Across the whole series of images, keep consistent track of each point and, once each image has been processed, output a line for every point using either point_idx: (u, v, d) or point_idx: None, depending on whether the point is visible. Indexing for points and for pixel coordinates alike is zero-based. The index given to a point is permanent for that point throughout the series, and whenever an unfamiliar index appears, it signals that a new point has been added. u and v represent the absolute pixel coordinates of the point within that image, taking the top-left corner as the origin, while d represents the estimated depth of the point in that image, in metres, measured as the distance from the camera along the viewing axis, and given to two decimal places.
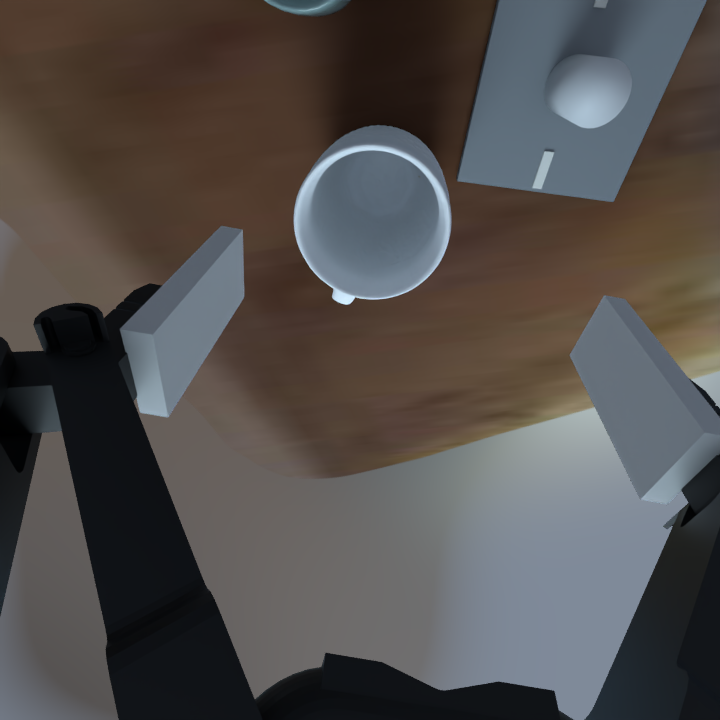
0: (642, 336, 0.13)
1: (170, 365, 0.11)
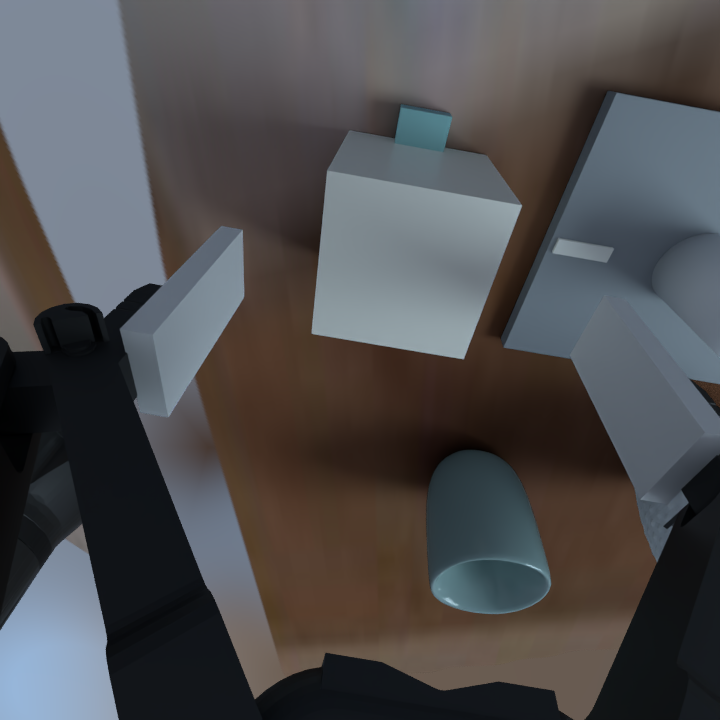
0: (642, 336, 0.13)
1: (170, 365, 0.11)
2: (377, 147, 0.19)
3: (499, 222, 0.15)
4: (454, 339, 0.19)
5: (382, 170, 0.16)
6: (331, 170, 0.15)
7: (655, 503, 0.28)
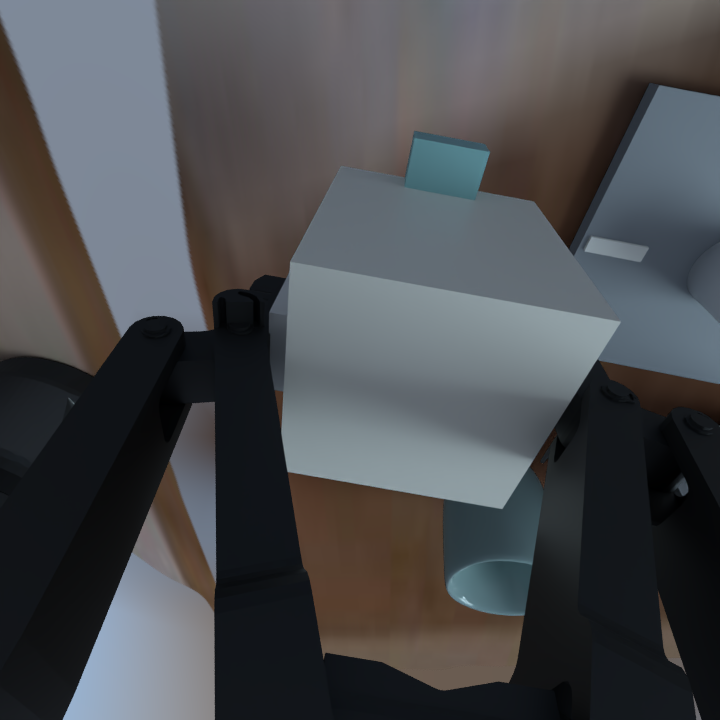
0: None
1: None
2: (379, 198, 0.13)
3: (578, 344, 0.09)
4: (490, 486, 0.13)
5: (384, 251, 0.10)
6: (298, 260, 0.09)
7: None
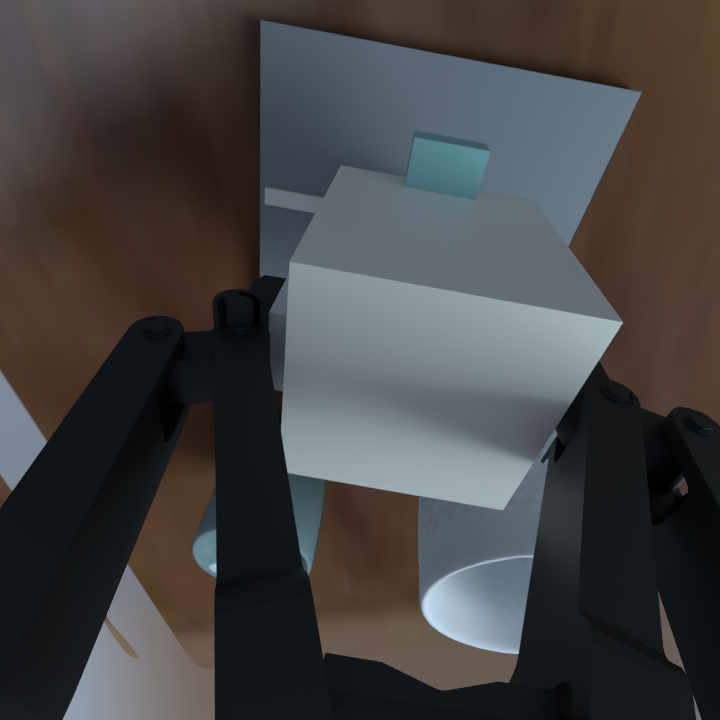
0: None
1: None
2: (379, 197, 0.13)
3: (580, 345, 0.09)
4: (491, 487, 0.12)
5: (385, 251, 0.10)
6: (297, 260, 0.09)
7: None
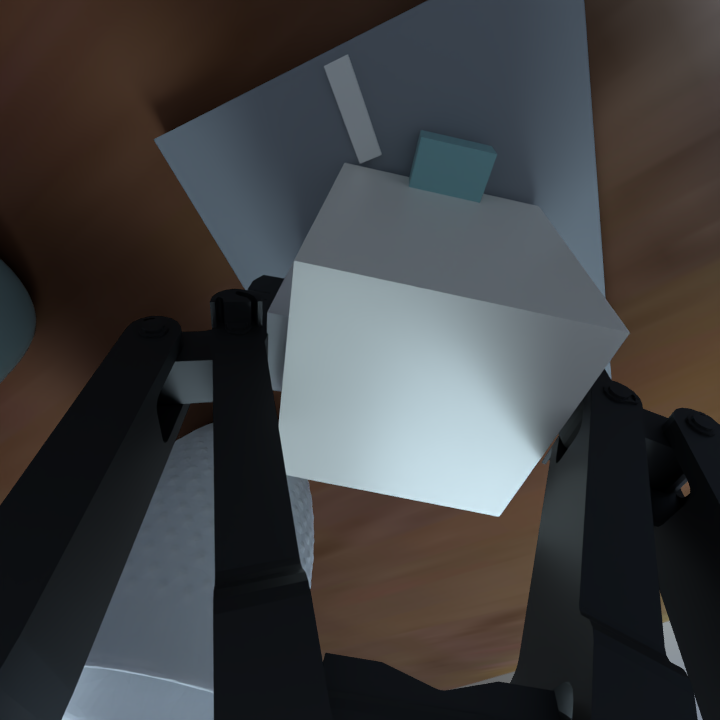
0: None
1: None
2: (384, 197, 0.13)
3: (585, 354, 0.09)
4: (488, 494, 0.12)
5: (390, 253, 0.10)
6: (302, 259, 0.09)
7: None
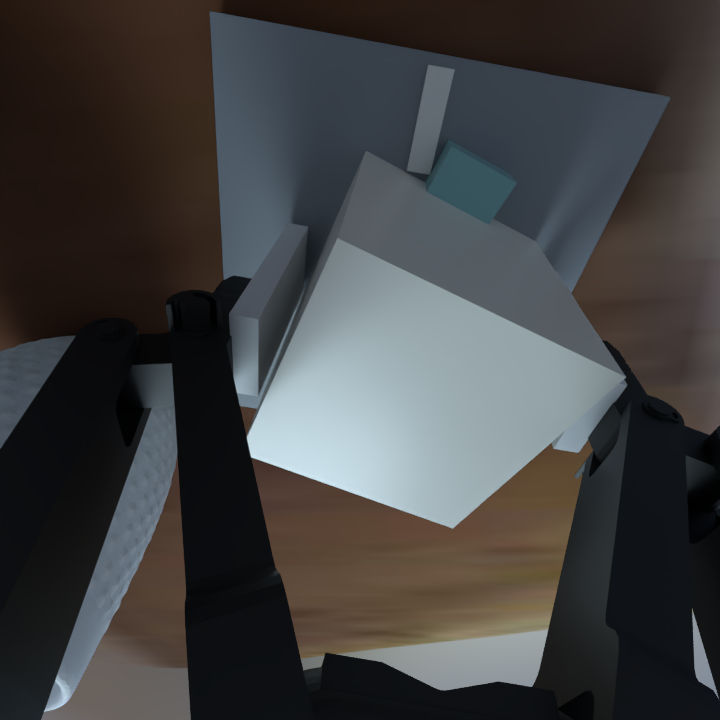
0: None
1: (263, 348, 0.12)
2: (407, 196, 0.12)
3: (582, 389, 0.10)
4: (450, 505, 0.13)
5: (423, 253, 0.09)
6: (344, 239, 0.08)
7: None
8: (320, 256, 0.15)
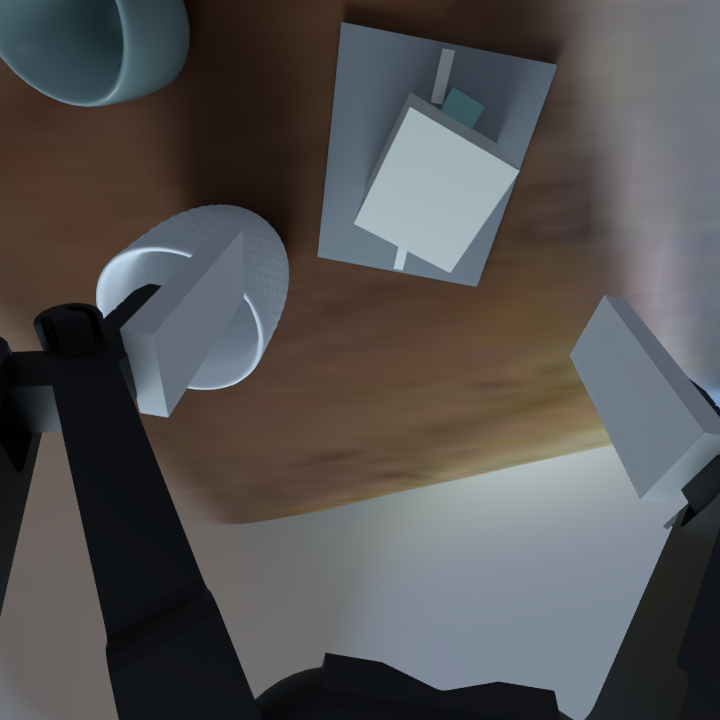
0: (642, 336, 0.13)
1: (170, 365, 0.11)
2: (431, 109, 0.27)
3: (503, 178, 0.24)
4: (449, 255, 0.27)
5: (440, 121, 0.24)
6: (412, 108, 0.22)
7: (215, 210, 0.30)
8: (385, 147, 0.29)
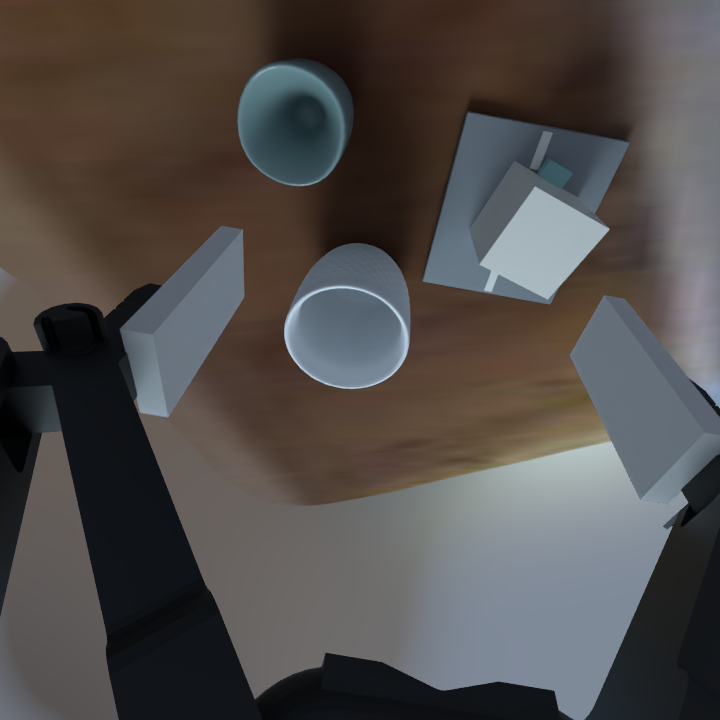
0: (642, 336, 0.13)
1: (170, 365, 0.11)
2: (536, 177, 0.36)
3: (596, 233, 0.33)
4: (548, 287, 0.36)
5: (551, 193, 0.33)
6: (536, 186, 0.31)
7: (362, 250, 0.39)
8: (493, 202, 0.38)
